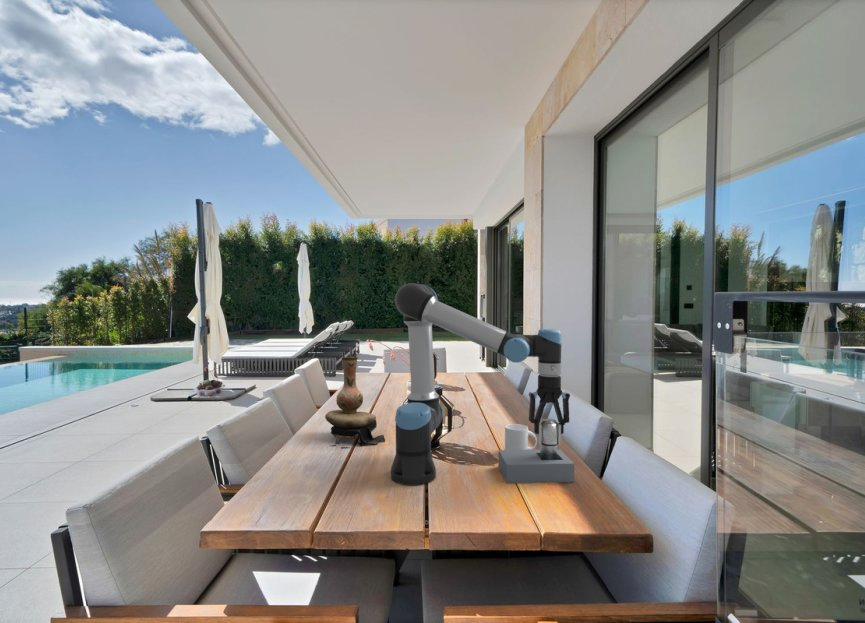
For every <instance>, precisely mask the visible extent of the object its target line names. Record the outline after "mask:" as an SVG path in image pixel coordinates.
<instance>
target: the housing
mask: <svg viewBox="0 0 865 623" xmlns="http://www.w3.org/2000/svg"><path fill="white" fill-rule="evenodd" d="M497 455H498V464H497V466H498V469H499V471H500V473H501V475H502V477H503V479H504V480H505V482H506V484H537V483H540V484H541V483H542V484H543V483H574V482H575V463H574V461H572V460H571V459H570V457H568V455H566V453H564V452H563V450H561V449H558V448H557V460H541V459H540V449H534V450H505V449H499V450H498V454H497Z"/></svg>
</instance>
